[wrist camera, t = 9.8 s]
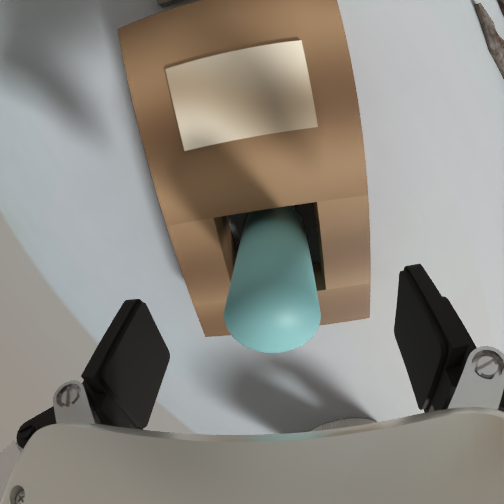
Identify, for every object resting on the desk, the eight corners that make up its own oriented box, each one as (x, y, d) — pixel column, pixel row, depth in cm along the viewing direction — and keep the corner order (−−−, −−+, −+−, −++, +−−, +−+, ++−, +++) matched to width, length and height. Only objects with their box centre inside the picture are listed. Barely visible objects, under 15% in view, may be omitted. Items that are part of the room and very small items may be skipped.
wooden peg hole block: (141, 37, 13) (115, 28, 11) (322, -2, 12) (332, -21, 9) (213, 307, 22) (204, 339, 19) (359, 289, 20) (370, 320, 17)
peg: (238, 207, 18) (213, 285, 11) (300, 197, 17) (316, 272, 10) (250, 261, 20) (235, 356, 13) (308, 253, 19) (323, 347, 12)
